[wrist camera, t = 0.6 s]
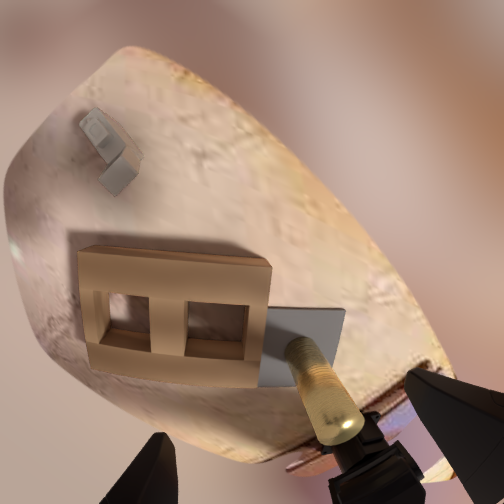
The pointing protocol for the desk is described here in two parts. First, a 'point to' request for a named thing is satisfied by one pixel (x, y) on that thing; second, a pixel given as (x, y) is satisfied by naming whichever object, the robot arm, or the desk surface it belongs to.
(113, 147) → the lighter
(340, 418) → the peg
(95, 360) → the hole block
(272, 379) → the mat
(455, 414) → the robot arm
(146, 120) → the desk surface
